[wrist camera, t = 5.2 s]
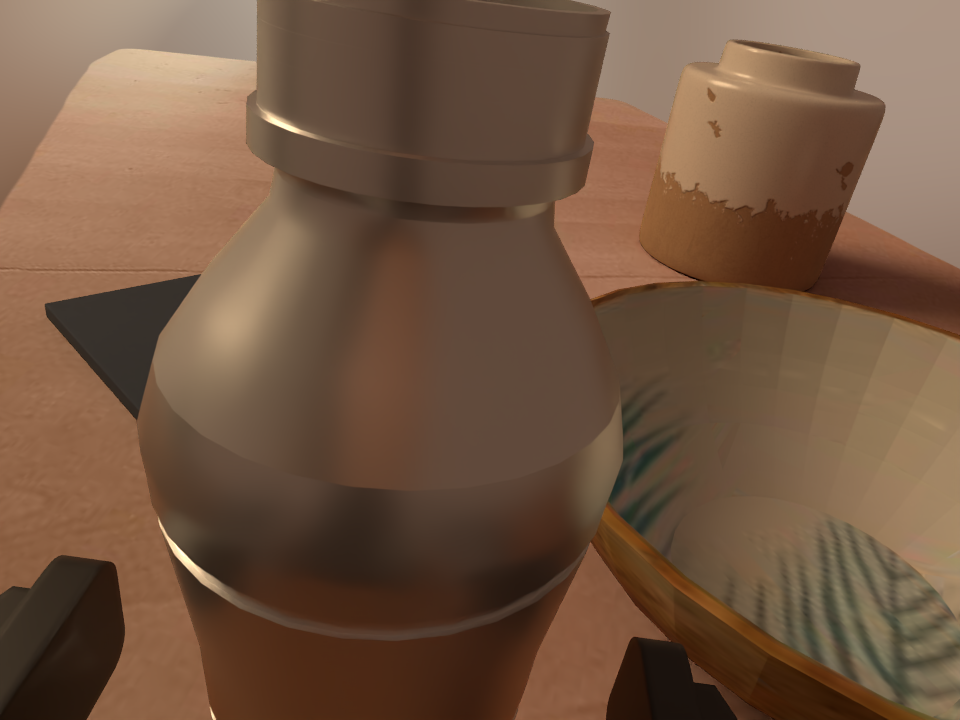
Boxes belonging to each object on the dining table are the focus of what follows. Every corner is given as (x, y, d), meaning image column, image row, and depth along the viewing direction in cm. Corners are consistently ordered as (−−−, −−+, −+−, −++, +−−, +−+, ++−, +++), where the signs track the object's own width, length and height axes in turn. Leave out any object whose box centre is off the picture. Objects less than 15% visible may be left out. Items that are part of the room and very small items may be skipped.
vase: (603, 227, 66) (651, 25, 57) (729, 223, 72) (788, 42, 64) (719, 302, 54) (799, 63, 46) (855, 289, 61) (947, 79, 53)
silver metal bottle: (527, 1025, 16) (923, 73, 6) (200, 1159, 14) (19, -40, 4) (443, 752, 21) (589, -7, 11) (194, 815, 19) (108, -78, 9)
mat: (162, 450, 31) (161, 435, 31) (46, 316, 39) (44, 303, 39) (442, 354, 42) (443, 342, 41) (305, 264, 50) (305, 253, 49)
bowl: (1395, 852, 23) (1628, 688, 19) (722, 1162, 15) (887, 988, 11) (839, 403, 43) (896, 280, 39) (427, 429, 35) (447, 277, 31)
